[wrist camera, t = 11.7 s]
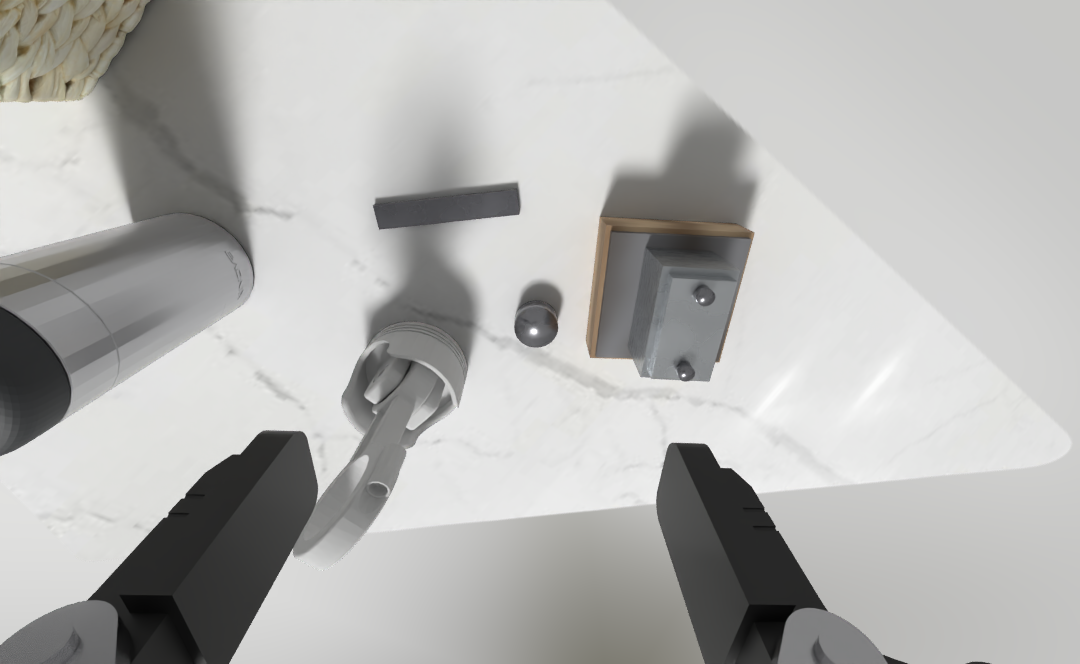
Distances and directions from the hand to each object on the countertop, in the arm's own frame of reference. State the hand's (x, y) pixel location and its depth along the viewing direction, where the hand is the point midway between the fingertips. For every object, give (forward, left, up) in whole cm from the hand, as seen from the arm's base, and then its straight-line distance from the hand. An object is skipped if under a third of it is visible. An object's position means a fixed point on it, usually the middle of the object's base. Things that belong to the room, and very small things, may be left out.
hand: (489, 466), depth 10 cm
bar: (-6, 0, -31) cm, 31 cm away
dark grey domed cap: (+2, -10, -30) cm, 32 cm away
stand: (+13, -6, -30) cm, 33 cm away
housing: (+13, -6, -26) cm, 30 cm away
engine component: (-10, -16, -30) cm, 36 cm away
